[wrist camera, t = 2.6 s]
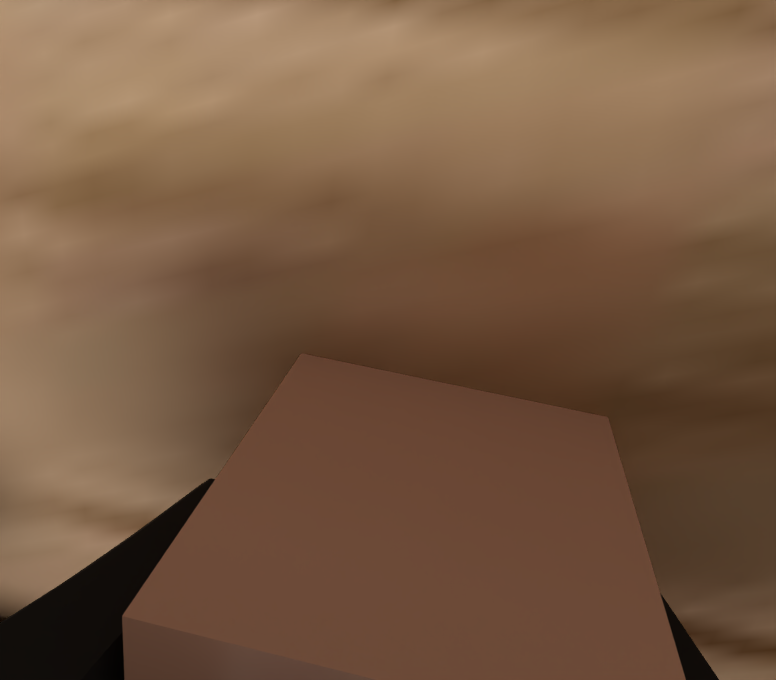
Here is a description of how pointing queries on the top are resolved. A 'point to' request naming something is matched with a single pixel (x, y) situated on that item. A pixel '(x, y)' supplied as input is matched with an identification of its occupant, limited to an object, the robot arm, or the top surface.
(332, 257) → the top surface
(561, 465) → the terracotta block
